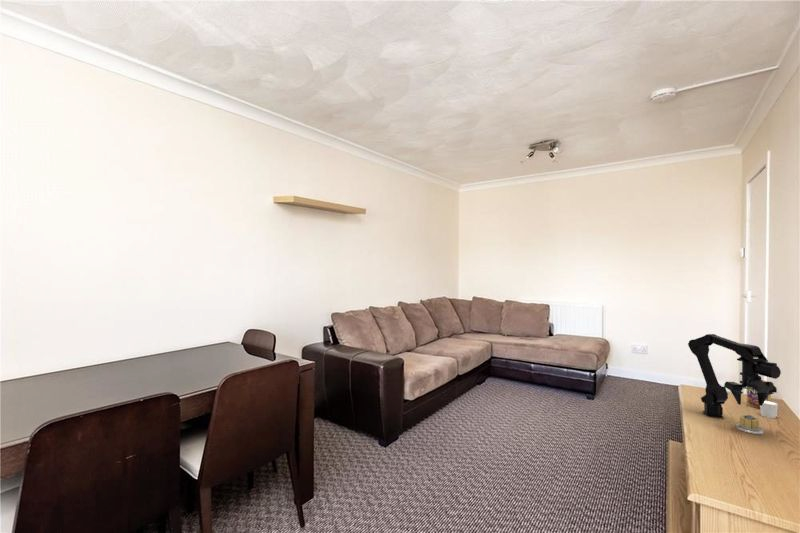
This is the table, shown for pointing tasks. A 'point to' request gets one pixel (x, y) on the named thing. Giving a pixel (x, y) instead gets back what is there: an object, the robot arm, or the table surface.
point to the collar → (749, 422)
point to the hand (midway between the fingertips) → (749, 404)
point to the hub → (752, 431)
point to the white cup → (769, 409)
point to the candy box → (755, 398)
